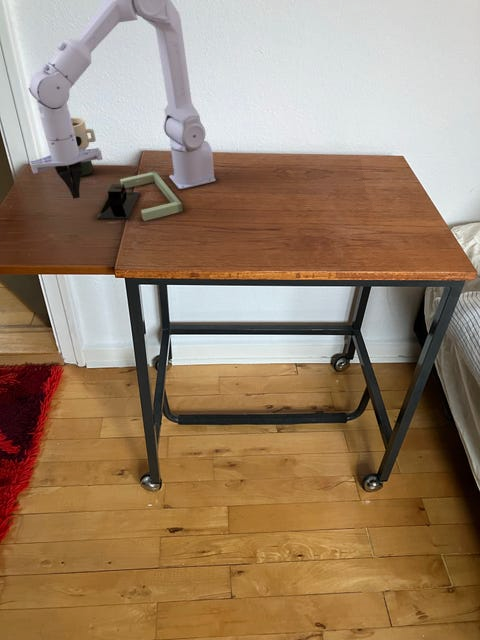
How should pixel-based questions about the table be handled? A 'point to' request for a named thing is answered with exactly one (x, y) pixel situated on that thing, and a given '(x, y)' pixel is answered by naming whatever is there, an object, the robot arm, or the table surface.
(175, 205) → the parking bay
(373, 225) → the table surface
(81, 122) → the character mug
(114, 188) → the build plate
